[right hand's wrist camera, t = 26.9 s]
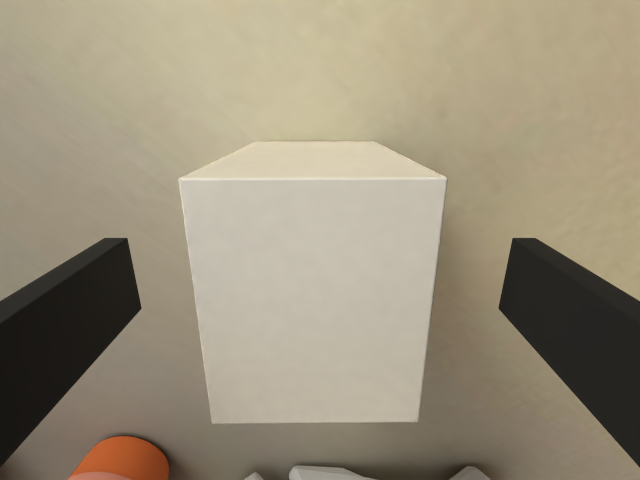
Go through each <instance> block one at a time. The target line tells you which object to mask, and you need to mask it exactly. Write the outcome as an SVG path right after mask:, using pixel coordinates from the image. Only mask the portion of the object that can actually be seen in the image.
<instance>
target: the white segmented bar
mask: <svg viewBox="0 0 640 480" xmlns="http://www.w3.org/2000/svg"><path fill="white" fill-rule="evenodd" d="M244 480H263V479H262V477H261V476H260V475H259V474H258V473H256V472H255V473H253V474H251V475H250V476H248V477H247V478H245V479H244ZM289 480H377V479H372V478H367V477H363V476H360V475H358V474H356V473H353V472H351V471H349V470H346V469H344V468H335V467H318V466H301V465H298V466H293V468H292V470H291V471H290V473H289ZM449 480H491V479H489V478H488V477H487V476H486V475H485V474H483V473H482V472H481V471H480V470H479V469H477V468H476V467H470V466H467V467H465V468H464V469H462V470H461V471H460V472H458V473H457V474H456V475H454V476H453V477H452V478H450V479H449Z"/></svg>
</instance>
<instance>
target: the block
mask: <svg viewBox="0 0 640 480" xmlns="http://www.w3.org/2000/svg"><path fill="white" fill-rule="evenodd" d="M179 187H180V194H181V201H182V209H183V216H184V223H185V231H186V238H187V245H188V253H189V260H190V267H191V274H192V282H193V289H194V296H195V304H196V311H197V318H198V325H199V333H200V340H201V347H202V355H203V362H204V369H205V377H206V384H207V391H208V398H209V406H210V413H211V420H212V423H213V424H252V423H363V422H418V420H419V411H420V403H421V395H422V387H423V378H424V370H425V362H426V354H427V345H428V337H429V329H430V320H431V312H432V304H433V296H434V287H435V279H436V271H437V263H438V254H439V246H440V238H441V230H442V221H443V213H444V205H445V196H446V188H447V177H445V176H443V175H441V174H439V173H437V172H435V171H433V170H431V169H429V168H427V167H425V166H423V165H421V164H419V163H417V162H415V161H413V160H411V159H409V158H407V157H405V156H403V155H401V154H399V153H397V152H395V151H393V150H391V149H389V148H387V147H385V146H383V145H381V144H379V143H377V142H375V141H269V142H254V143H252V144H249V145H247V146H245V147H243V148H241V149H239V150H237V151H235V152H233V153H231V154H229V155H227V156H225V157H223V158H220V159H218V160H216V161H214V162H212V163H210V164H208V165H206V166H204V167H202V168H200V169H198V170H196V171H194V172H191V173H189V174H187V175H185V176H183V177H181V178H179Z"/></svg>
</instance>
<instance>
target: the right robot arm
mask: <svg viewBox="0 0 640 480" xmlns="http://www.w3.org/2000/svg"><path fill="white" fill-rule="evenodd" d="M140 310H141V304H140V299H139V294H138V289H137V284H136V279H135V274H134V269H133V264H132V259H131V254H130V249H129V244H128V239H127V238H104V239H102V240H101V241H99V242H97V243H96V244H94V245H92V246H91V247H89V248H88V249H86V250H84V251H83V252H81V253H79V254H78V255H76V256H74V257H73V258H71V259H69V260H68V261H66V262H64V263H63V264H61V265H59V266H58V267H56V268H54V269H53V270H51V271H50V272H48V273H46V274H45V275H43V276H41V277H40V278H38V279H36V280H35V281H33V282H31V283H30V284H28V285H26V286H25V287H23V288H21V289H20V290H18V291H16V292H15V293H13V294H12V295H10V296H8V297H7V298H5V299H3V300H2V301H0V467H1V466H2V465H3V464H4V463H5V461H6V460H7V459H8V458H9V457H10V456H11V455H12V454H13V452H14V451H15V450H16V449H17V448H18V447H19V446H20V445H21V443H22V442H23V441H24V440H25V439H26V438H27V437H28V436H29V434H30V433H31V432H32V431H33V430H34V429H35V428H36V427H37V425H38V424H39V423H40V422H41V421H42V420H43V419H44V418H45V416H46V415H47V414H48V413H49V412H50V411H51V410H52V409H53V407H54V406H55V405H56V404H57V403H58V402H59V401H60V400H61V398H62V397H63V396H64V395H65V394H66V393H67V392H68V391H69V389H70V388H71V387H72V386H73V385H74V384H75V383H76V382H77V380H78V379H79V378H80V377H81V376H82V375H83V374H84V373H85V371H86V370H87V369H88V368H89V367H90V366H91V365H92V364H93V362H94V361H95V360H96V359H97V358H98V357H99V356H100V355H101V353H102V352H103V351H104V350H105V349H106V348H107V347H108V346H109V344H110V343H111V342H112V341H113V340H114V339H115V338H116V337H117V335H118V334H119V333H120V332H121V331H122V330H123V329H124V328H125V326H126V325H127V324H128V323H129V322H130V321H131V320H132V319H133V317H134V316H135V315H136V314H137V313H138V312H139V311H140ZM499 310H500V311H501V312H502V313H503V314H504V315H505V316H506V317H507V319H508V320H509V321H510V322H511V323H512V324H513V325H514V326H515V328H516V329H517V330H518V331H519V332H520V333H521V334H522V335H523V337H524V338H525V339H526V340H527V341H528V342H529V343H530V344H531V346H532V347H533V348H534V349H535V350H536V351H537V352H538V353H539V355H540V356H541V357H542V358H543V359H544V360H545V361H546V362H547V364H548V365H549V366H550V367H551V368H552V369H553V370H554V371H555V373H556V374H557V375H558V376H559V377H560V378H561V379H562V380H563V382H564V383H565V384H566V385H567V386H568V387H569V388H570V389H571V391H572V392H573V393H574V394H575V395H576V396H577V397H578V398H579V400H580V401H581V402H582V403H583V404H584V405H585V406H586V407H587V409H588V410H589V411H590V412H591V413H592V414H593V415H594V416H595V418H596V419H597V420H598V421H599V422H600V423H601V424H602V425H603V427H604V428H605V429H606V430H607V431H608V432H609V433H610V434H611V436H612V437H613V438H614V439H615V440H616V441H617V442H618V443H619V445H620V446H621V447H622V448H623V449H624V450H625V451H626V452H627V454H628V455H629V456H630V457H631V458H632V459H633V460H634V461H635V463H636V464H637V465H638V466H639V467H640V301H638V300H637V299H635V298H633V297H632V296H630V295H628V294H627V293H625V292H624V291H622V290H620V289H619V288H617V287H615V286H614V285H612V284H610V283H609V282H607V281H605V280H604V279H602V278H600V277H599V276H597V275H595V274H594V273H592V272H590V271H589V270H587V269H586V268H584V267H582V266H581V265H579V264H577V263H576V262H574V261H572V260H571V259H569V258H567V257H566V256H564V255H562V254H561V253H559V252H557V251H556V250H554V249H552V248H551V247H549V246H548V245H546V244H544V243H543V242H541V241H539V240H538V239H536V238H513V239H512V244H511V249H510V254H509V259H508V264H507V269H506V274H505V279H504V284H503V289H502V294H501V299H500V304H499Z"/></svg>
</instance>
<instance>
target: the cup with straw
mask: <svg viewBox="0 0 640 480" xmlns="http://www.w3.org/2000/svg"><path fill="white" fill-rule="evenodd" d="M168 476H169V464H168V461H167V459H166V457H165V456H164V454H163V453H162V452H161V451H160V450H159V449H158V448H157V447H155V446H154V445H152V444H151V443H149V442H147V441H145V440H142V439H139V438H135V437H128V436H118V437H111V438H108V439H105V440H103V441H101V442H99V443H98V444H97V445H95V446H94V447H93V448H92V450H91V451H90V452H89V453H88V454H87V456H86V457H85V458H84V459H83V461H82V462H81V463H80V464H79V466H78V467H77V468H76V469H75V471H74V472H73V473H72V474H71V476H70V477H69V478H68V479H66V480H168Z"/></svg>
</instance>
